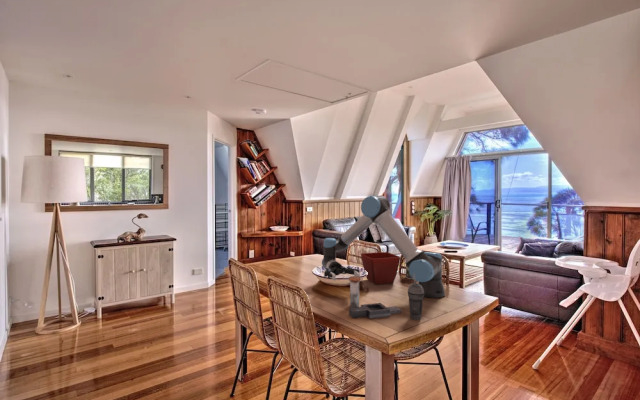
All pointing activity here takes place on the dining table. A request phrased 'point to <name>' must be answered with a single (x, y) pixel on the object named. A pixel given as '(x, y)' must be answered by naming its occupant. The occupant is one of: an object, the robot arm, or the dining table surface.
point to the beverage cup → (415, 300)
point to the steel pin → (354, 291)
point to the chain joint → (373, 311)
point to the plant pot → (380, 267)
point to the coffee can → (408, 273)
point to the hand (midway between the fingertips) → (347, 276)
